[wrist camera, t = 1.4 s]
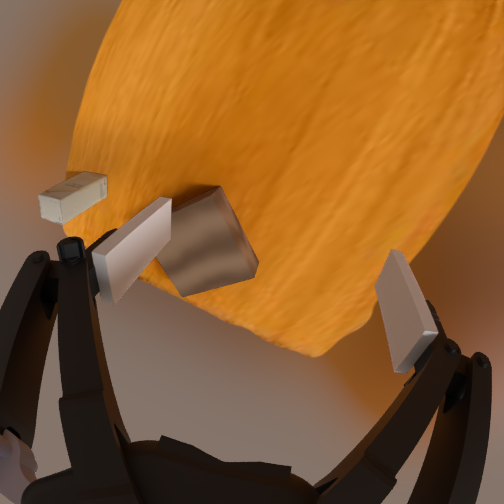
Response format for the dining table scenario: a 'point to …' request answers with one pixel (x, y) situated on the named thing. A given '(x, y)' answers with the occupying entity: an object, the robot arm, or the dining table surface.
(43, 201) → the skincare box
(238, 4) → the dining table surface
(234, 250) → the plate
